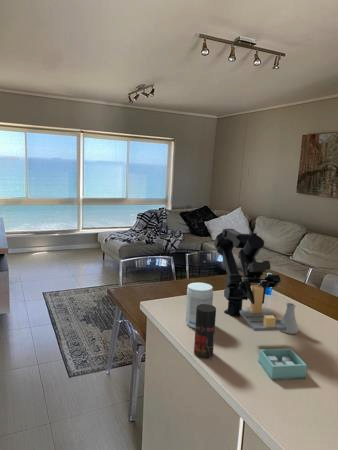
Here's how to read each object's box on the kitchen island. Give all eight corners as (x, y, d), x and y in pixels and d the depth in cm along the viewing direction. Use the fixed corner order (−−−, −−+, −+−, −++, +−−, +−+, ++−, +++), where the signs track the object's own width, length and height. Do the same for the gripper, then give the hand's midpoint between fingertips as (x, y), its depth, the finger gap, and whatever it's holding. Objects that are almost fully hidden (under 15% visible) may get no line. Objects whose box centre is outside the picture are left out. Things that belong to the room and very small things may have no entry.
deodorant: (192, 348, 105) (195, 304, 103) (210, 348, 106) (213, 304, 104) (195, 358, 100) (198, 311, 97) (214, 358, 100) (218, 311, 98)
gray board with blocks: (239, 313, 115) (241, 285, 113) (268, 312, 116) (271, 285, 115) (254, 331, 102) (257, 300, 100) (286, 330, 104) (289, 300, 102)
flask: (299, 328, 124) (302, 302, 122) (298, 336, 117) (301, 309, 116) (279, 324, 127) (281, 299, 125) (276, 331, 120) (279, 305, 119)
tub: (258, 361, 100) (259, 349, 99) (289, 360, 101) (290, 348, 100) (271, 380, 91) (272, 366, 90) (305, 378, 92) (306, 365, 92)
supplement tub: (216, 326, 122) (219, 288, 120) (196, 332, 117) (198, 292, 115) (199, 316, 130) (202, 280, 128) (180, 321, 125) (182, 284, 123)
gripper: (230, 251, 113) (239, 294, 104) (281, 252, 116) (294, 293, 107) (222, 267, 122) (229, 307, 113) (269, 267, 125) (280, 306, 116)
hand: (258, 303), depth 112 cm, fingers closed on gray board with blocks, 3 cm apart
